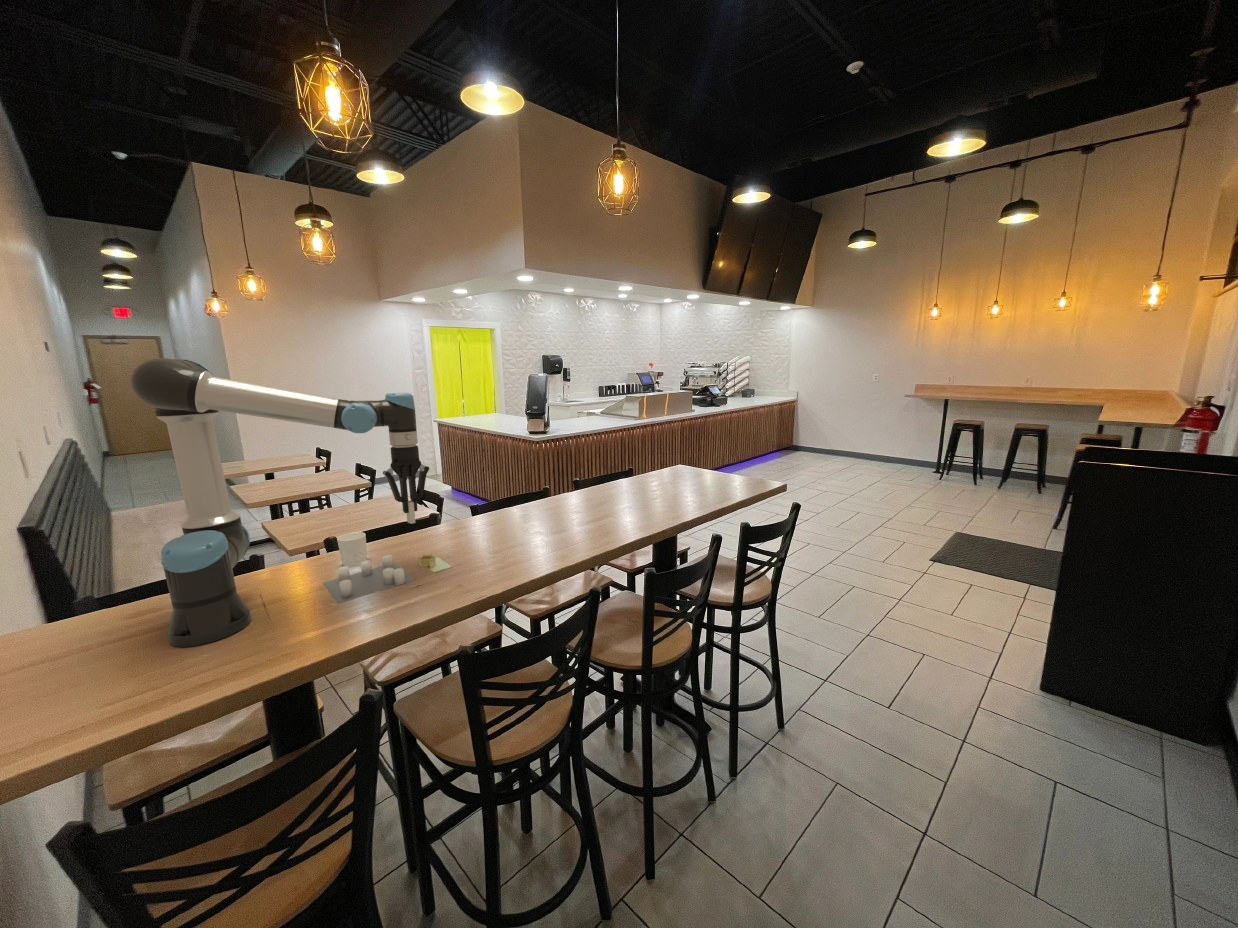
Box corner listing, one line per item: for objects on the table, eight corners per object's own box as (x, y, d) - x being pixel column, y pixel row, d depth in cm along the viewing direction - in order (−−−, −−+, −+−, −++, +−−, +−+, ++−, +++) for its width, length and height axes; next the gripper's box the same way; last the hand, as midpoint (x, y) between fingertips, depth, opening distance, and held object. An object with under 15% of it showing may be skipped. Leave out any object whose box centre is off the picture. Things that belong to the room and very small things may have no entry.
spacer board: (338, 608, 123) (336, 589, 122) (323, 586, 136) (320, 569, 135) (416, 583, 136) (414, 567, 135) (395, 566, 150) (393, 550, 149)
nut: (423, 571, 145) (422, 561, 144) (417, 566, 148) (416, 557, 148) (437, 566, 147) (436, 557, 147) (431, 562, 151) (430, 553, 151)
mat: (412, 579, 139) (412, 578, 139) (400, 568, 147) (399, 568, 147) (451, 567, 147) (451, 566, 147) (437, 558, 155) (437, 557, 155)
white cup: (348, 572, 146) (343, 542, 144) (337, 567, 150) (332, 537, 148) (373, 564, 152) (369, 535, 150) (362, 559, 156) (358, 530, 154)
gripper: (384, 449, 131) (392, 529, 136) (431, 444, 140) (437, 520, 144) (376, 446, 137) (384, 524, 141) (421, 442, 145) (428, 515, 150)
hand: (411, 522), depth 143 cm, fingers closed
